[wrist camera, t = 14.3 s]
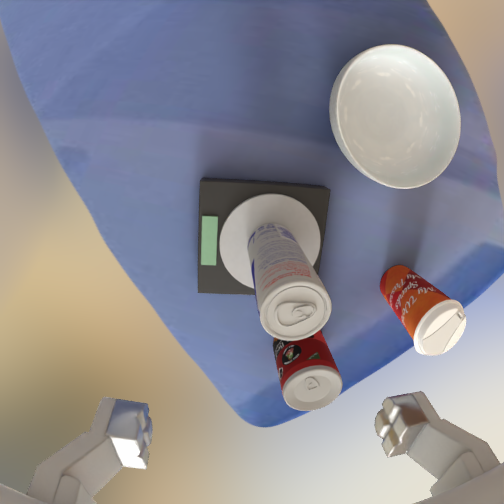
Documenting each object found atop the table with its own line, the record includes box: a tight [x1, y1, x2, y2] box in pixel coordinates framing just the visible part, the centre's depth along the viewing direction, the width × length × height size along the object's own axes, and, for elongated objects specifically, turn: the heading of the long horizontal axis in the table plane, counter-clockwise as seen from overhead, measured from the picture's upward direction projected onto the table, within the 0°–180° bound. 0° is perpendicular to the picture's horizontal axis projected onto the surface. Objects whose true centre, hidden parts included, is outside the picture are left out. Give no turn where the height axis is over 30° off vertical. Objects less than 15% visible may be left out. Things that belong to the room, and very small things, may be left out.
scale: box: [198, 178, 330, 295], centre depth 39 cm, size 14×15×3 cm
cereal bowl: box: [329, 44, 461, 189], centre depth 32 cm, size 17×17×7 cm
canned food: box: [273, 330, 342, 411], centre depth 41 cm, size 8×8×11 cm
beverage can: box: [247, 223, 331, 341], centre depth 30 cm, size 6×6×15 cm
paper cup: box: [380, 265, 466, 356], centre depth 38 cm, size 8×8×14 cm
